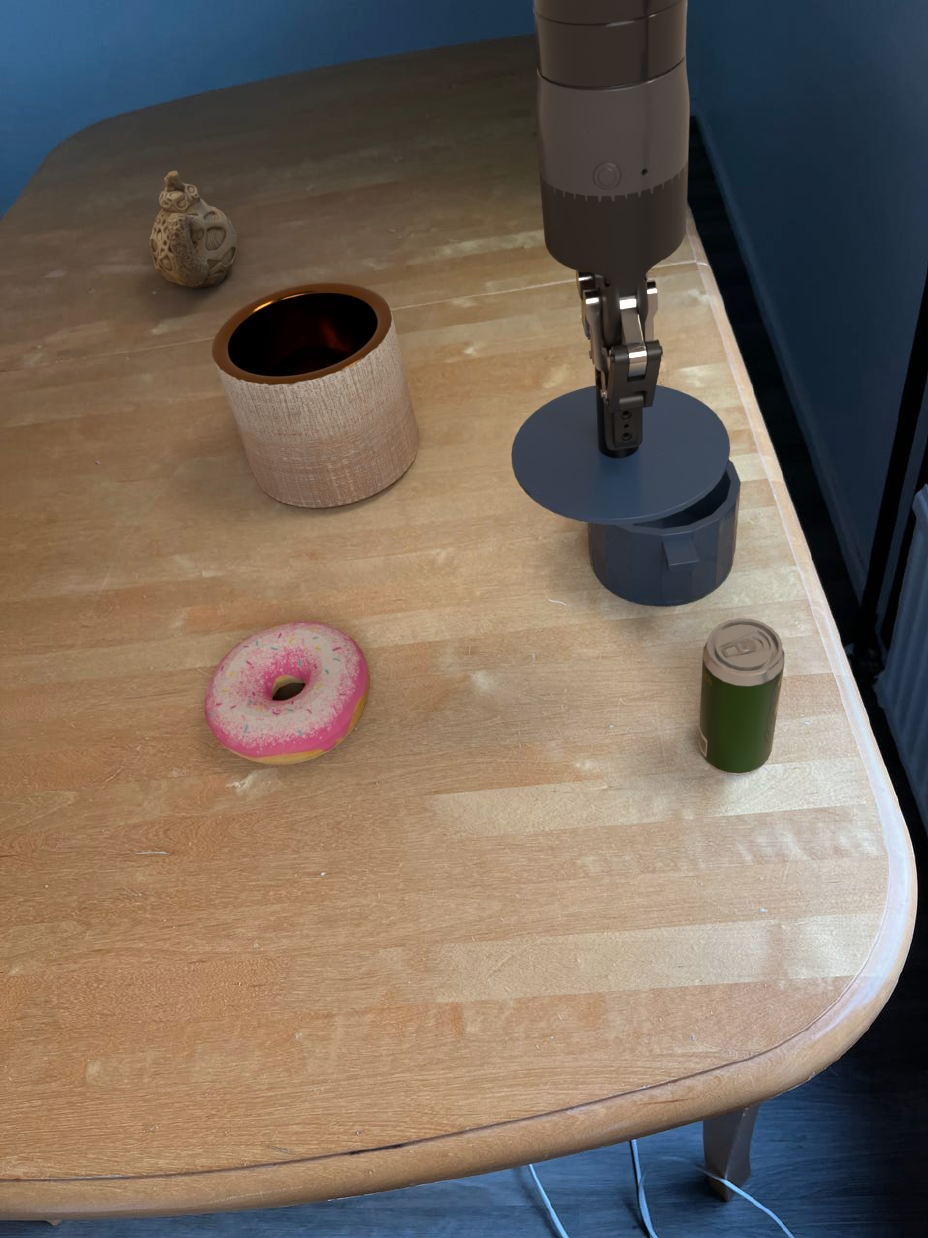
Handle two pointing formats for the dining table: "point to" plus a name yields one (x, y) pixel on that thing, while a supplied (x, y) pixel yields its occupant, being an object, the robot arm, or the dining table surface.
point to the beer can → (739, 695)
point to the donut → (297, 723)
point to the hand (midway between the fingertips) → (619, 428)
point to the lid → (620, 458)
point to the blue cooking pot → (671, 550)
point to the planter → (318, 393)
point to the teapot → (191, 237)
